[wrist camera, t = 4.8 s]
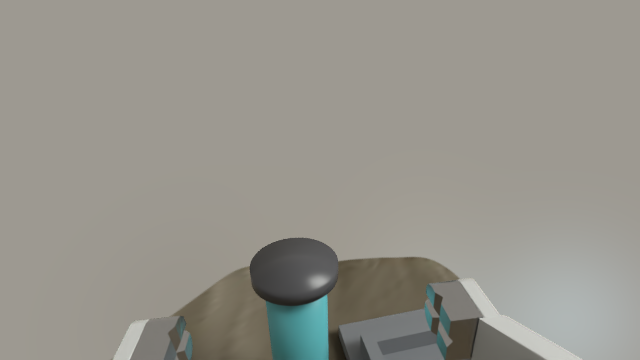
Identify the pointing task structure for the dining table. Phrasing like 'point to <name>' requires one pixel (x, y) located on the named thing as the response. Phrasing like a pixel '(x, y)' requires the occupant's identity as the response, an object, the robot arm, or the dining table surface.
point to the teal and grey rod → (296, 295)
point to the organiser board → (391, 338)
